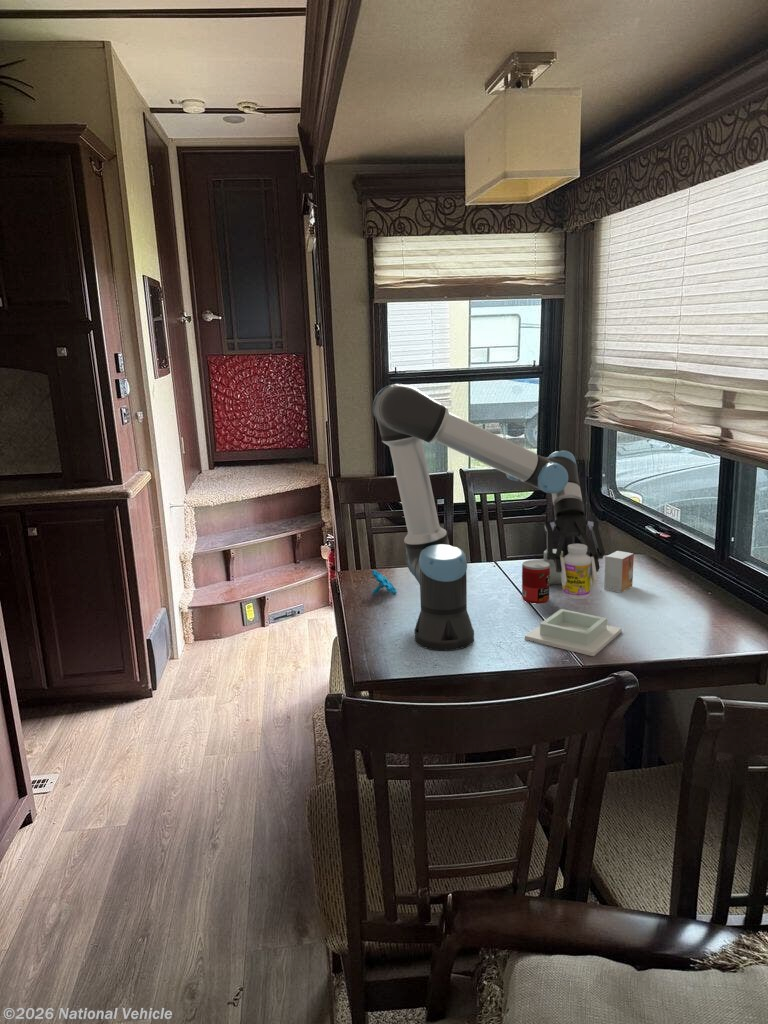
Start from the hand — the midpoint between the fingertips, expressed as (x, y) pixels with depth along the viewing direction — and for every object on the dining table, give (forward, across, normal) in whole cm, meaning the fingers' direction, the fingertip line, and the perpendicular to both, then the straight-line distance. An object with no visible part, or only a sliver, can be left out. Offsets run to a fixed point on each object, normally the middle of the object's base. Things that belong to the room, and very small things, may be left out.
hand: (579, 582), depth 168 cm
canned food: (-11, +6, -32) cm, 35 cm away
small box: (-17, -20, -39) cm, 48 cm away
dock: (+8, +1, -13) cm, 16 cm away
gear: (-16, +51, -38) cm, 65 cm away
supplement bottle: (+1, 0, -6) cm, 6 cm away
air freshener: (-22, -2, -44) cm, 49 cm away
